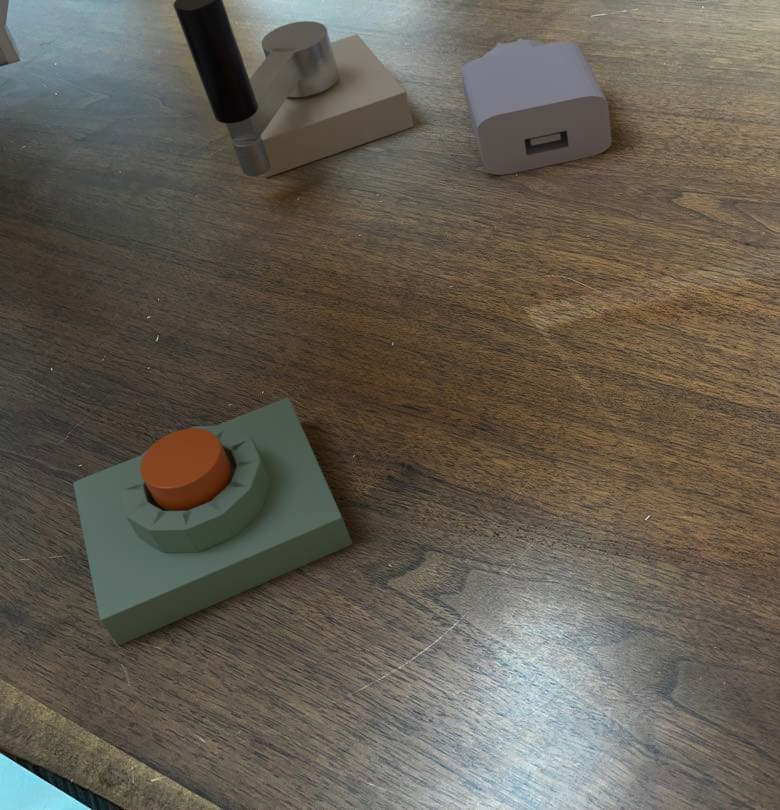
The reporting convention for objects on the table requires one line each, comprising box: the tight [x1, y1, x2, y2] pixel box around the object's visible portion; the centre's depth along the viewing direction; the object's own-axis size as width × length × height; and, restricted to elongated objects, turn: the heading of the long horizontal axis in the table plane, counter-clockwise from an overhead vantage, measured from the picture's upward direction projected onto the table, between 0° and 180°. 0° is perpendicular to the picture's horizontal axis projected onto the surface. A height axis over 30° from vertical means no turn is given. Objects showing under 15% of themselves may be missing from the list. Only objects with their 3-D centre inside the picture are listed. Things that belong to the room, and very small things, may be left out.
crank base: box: [246, 33, 414, 179], centre depth 85 cm, size 12×12×3 cm
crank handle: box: [173, 0, 339, 177], centre depth 77 cm, size 15×5×12 cm, turn 168°
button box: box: [72, 396, 353, 647], centre depth 55 cm, size 12×10×4 cm
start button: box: [140, 427, 232, 511], centre depth 54 cm, size 4×4×2 cm
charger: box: [460, 37, 612, 176], centre depth 81 cm, size 5×9×15 cm
